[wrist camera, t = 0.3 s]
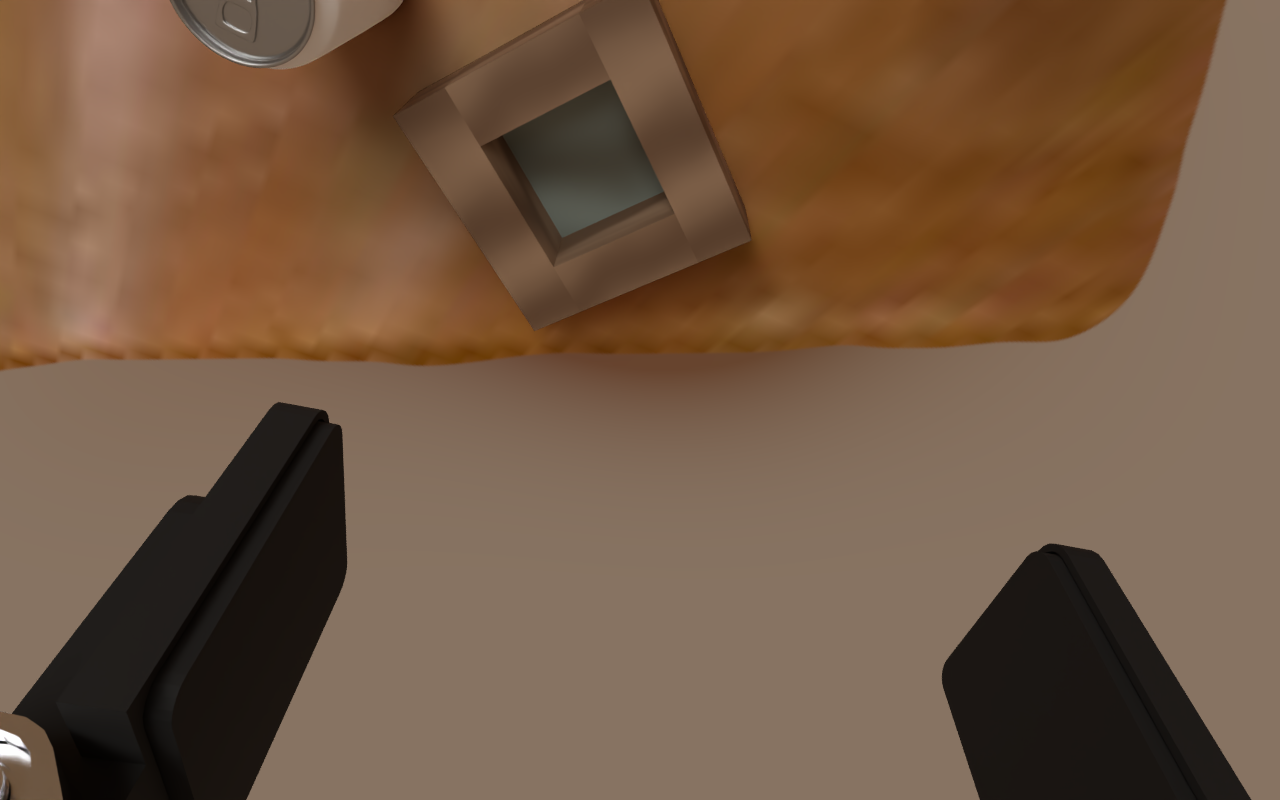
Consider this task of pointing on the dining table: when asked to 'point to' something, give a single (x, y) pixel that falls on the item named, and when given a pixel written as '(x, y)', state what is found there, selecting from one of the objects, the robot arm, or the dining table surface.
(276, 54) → the can
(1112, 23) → the dining table surface
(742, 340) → the dining table surface
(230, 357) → the dining table surface
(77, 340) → the dining table surface
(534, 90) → the socket block
